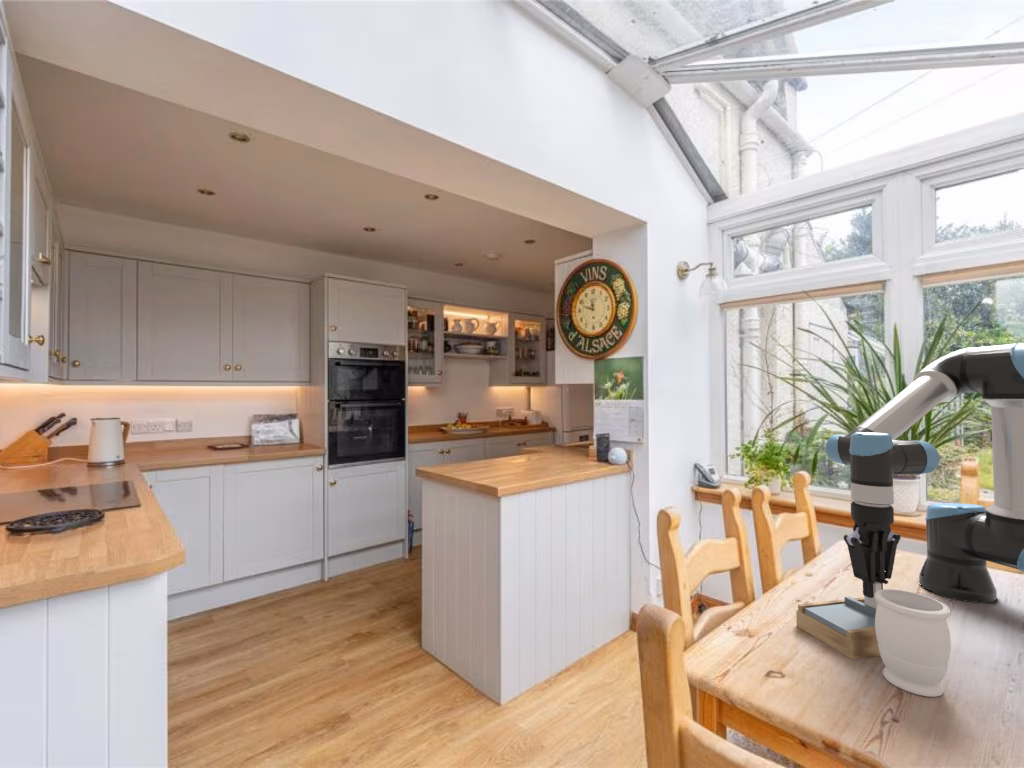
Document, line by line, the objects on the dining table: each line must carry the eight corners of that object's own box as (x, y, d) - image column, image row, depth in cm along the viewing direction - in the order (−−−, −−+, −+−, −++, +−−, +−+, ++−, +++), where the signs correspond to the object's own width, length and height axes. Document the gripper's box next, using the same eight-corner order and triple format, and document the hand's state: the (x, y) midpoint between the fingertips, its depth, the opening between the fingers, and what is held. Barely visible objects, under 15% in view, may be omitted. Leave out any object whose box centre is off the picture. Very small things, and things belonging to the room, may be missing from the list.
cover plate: (849, 608, 108) (848, 596, 108) (894, 630, 98) (894, 617, 98) (804, 613, 106) (804, 601, 106) (847, 636, 96) (846, 623, 96)
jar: (966, 696, 82) (965, 609, 83) (924, 707, 79) (923, 617, 80) (901, 662, 93) (900, 585, 93) (861, 671, 90) (860, 591, 90)
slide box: (868, 616, 112) (868, 595, 112) (932, 648, 98) (932, 623, 98) (796, 625, 107) (796, 603, 107) (853, 659, 94) (852, 634, 94)
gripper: (878, 498, 109) (880, 601, 108) (832, 500, 106) (833, 606, 106) (912, 505, 102) (914, 616, 101) (863, 508, 99) (865, 622, 98)
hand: (873, 611), depth 103 cm, fingers closed
